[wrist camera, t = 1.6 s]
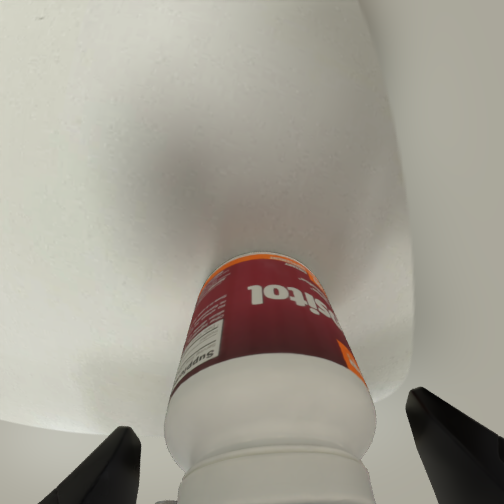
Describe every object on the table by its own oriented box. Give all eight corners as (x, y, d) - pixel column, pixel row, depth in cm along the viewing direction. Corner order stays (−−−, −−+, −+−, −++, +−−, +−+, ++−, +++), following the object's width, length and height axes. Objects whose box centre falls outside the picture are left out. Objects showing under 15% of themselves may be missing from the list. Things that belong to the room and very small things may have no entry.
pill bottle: (348, 292, 15) (452, 487, 5) (272, 371, 17) (290, 560, 6) (246, 219, 14) (248, 450, 3) (175, 316, 15) (110, 523, 5)
